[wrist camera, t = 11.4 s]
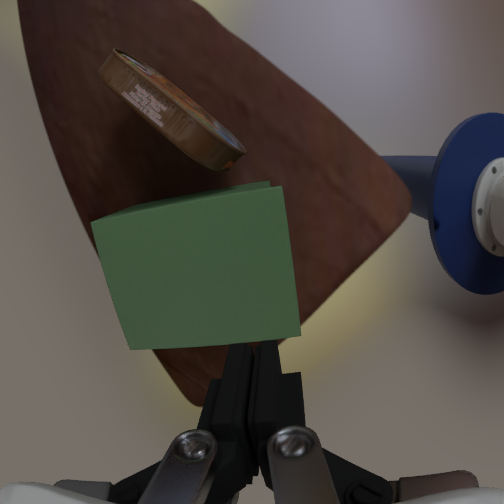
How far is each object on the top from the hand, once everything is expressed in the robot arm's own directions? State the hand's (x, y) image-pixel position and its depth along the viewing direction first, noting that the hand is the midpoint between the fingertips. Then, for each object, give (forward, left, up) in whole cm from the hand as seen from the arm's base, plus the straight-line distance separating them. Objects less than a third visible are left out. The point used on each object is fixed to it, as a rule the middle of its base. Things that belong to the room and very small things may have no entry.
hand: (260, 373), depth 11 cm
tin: (+6, -13, -20) cm, 25 cm away
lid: (+5, 0, -12) cm, 13 cm away
